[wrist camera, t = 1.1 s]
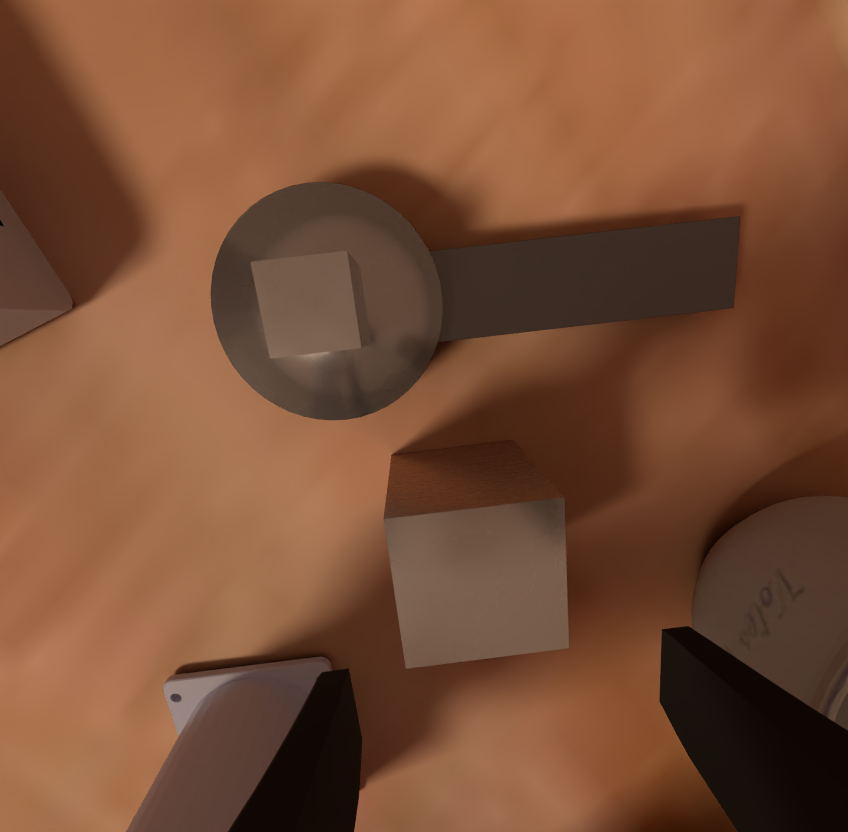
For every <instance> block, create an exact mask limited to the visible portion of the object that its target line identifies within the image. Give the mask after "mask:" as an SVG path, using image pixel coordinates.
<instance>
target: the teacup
mask: <svg viewBox="0 0 848 832" xmlns="http://www.w3.org/2000/svg"><path fill="white" fill-rule="evenodd" d="M692 626H693V629H694V630H695V631H697V632H698V633H700V634H701V635H703V636H704V637H706V638H708V639H709V640H711V641H712V642H714V643H715V644H717V645H718V646H720V647H721V648H722V649H724V650H725V651H727V652H728V653H730V654H731V655H733V656H734V657H736V658H737V659H739V660H740V661H742V662H743V663H745V664H746V665H748V666H749V667H751V668H752V669H754V670H755V671H757V672H758V673H760V674H761V675H763V676H764V677H766V678H767V679H769V680H770V681H772V682H773V683H775V684H776V685H778V686H779V687H781V688H782V689H784V690H785V691H787V692H788V693H790V694H792V695H793V696H795V697H796V698H798V699H799V700H801V701H802V702H804V703H805V704H807V705H808V706H810V707H812V708H813V709H815V710H816V711H818V712H819V713H821V714H822V715H824V716H826V717H827V718H829V719H830V720H832V721H834V722H835V723H837V724H838V725H840V726H842V727H843V728H845V729H846V730H848V497H839V496H809V497H800V498H795V499H791V500H787V501H783V502H780V503H777V504H774V505H771V506H769V507H767V508H764V509H762V510H760V511H758V512H756V513H754V514H753V515H751V516H749V517H748V518H746V519H744V520H743V521H741V522H739V523H738V524H736V525H735V526H734V527H732V528H731V529H730V530H728V531H727V532H726V533H725V534H724V535H723V536H722V537H721V538H720V539H719V540H718V541H717V542H716V543H715V544H714V546H713V547H712V548H711V550H710V551H709V553H708V555H707V556H706V558H705V560H704V562H703V564H702V566H701V569H700V572H699V575H698V578H697V581H696V585H695V589H694V594H693V600H692Z"/></svg>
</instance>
